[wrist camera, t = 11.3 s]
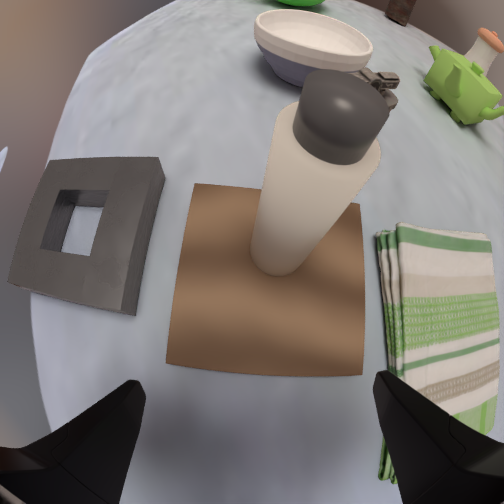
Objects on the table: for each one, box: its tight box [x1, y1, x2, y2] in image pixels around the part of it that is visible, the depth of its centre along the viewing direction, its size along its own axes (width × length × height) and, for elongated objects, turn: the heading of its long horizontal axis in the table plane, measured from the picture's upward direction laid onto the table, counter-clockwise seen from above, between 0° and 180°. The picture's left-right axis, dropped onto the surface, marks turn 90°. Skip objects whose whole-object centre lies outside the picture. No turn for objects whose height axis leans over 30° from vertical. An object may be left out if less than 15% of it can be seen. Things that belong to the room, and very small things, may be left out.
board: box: [166, 183, 365, 376], centre depth 20 cm, size 14×14×1 cm
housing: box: [7, 157, 165, 316], centre depth 19 cm, size 12×12×3 cm
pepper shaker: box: [464, 28, 504, 77], centre depth 29 cm, size 7×7×19 cm
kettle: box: [423, 46, 504, 125], centre depth 28 cm, size 15×14×11 cm
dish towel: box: [376, 222, 500, 484], centre depth 18 cm, size 17×23×4 cm
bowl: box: [254, 9, 373, 87], centre depth 26 cm, size 14×14×8 cm
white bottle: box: [250, 69, 389, 276], centre depth 13 cm, size 4×4×14 cm
